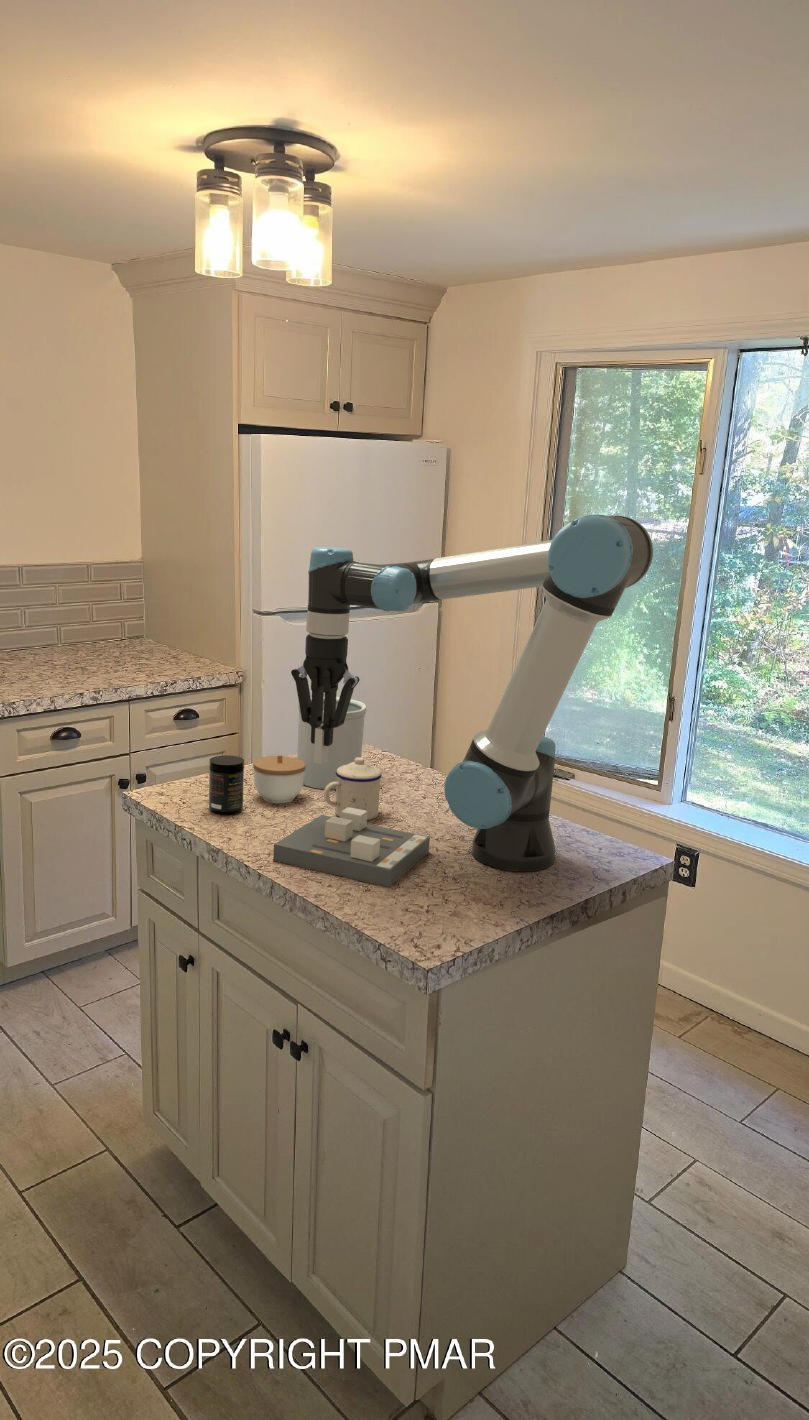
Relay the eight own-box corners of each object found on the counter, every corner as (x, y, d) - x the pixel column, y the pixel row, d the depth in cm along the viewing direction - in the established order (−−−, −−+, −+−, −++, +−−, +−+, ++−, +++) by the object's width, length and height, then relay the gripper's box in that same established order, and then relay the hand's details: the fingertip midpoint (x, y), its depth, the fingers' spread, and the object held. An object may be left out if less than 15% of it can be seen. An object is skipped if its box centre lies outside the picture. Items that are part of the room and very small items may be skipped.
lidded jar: (242, 795, 202) (243, 752, 200) (286, 787, 209) (287, 745, 207) (270, 810, 195) (271, 765, 192) (314, 802, 201) (316, 758, 199)
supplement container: (249, 808, 195) (250, 758, 192) (232, 818, 189) (233, 767, 186) (219, 803, 197) (220, 753, 195) (201, 812, 191) (202, 761, 189)
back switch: (366, 826, 180) (367, 811, 179) (359, 831, 177) (360, 815, 177) (347, 822, 181) (347, 807, 181) (339, 827, 179) (340, 811, 178)
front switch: (379, 856, 166) (380, 839, 166) (371, 861, 163) (372, 844, 163) (358, 851, 168) (358, 834, 167) (350, 857, 165) (351, 840, 164)
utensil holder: (371, 776, 221) (375, 701, 217) (348, 795, 207) (352, 714, 203) (311, 767, 225) (314, 693, 221) (284, 784, 211) (287, 706, 207)
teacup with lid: (365, 804, 202) (368, 750, 199) (387, 818, 194) (391, 762, 192) (313, 811, 195) (315, 755, 193) (334, 826, 188) (336, 768, 185)
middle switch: (352, 836, 175) (353, 820, 174) (344, 841, 172) (345, 825, 171) (332, 832, 176) (333, 816, 175) (324, 837, 173) (325, 821, 173)
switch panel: (428, 852, 178) (429, 836, 177) (389, 887, 161) (390, 869, 161) (321, 829, 186) (322, 814, 185) (273, 860, 169) (273, 843, 169)
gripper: (369, 636, 175) (361, 762, 180) (305, 628, 180) (299, 751, 185) (350, 642, 168) (343, 772, 174) (284, 632, 173) (279, 760, 178)
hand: (320, 761), depth 179 cm, fingers closed
